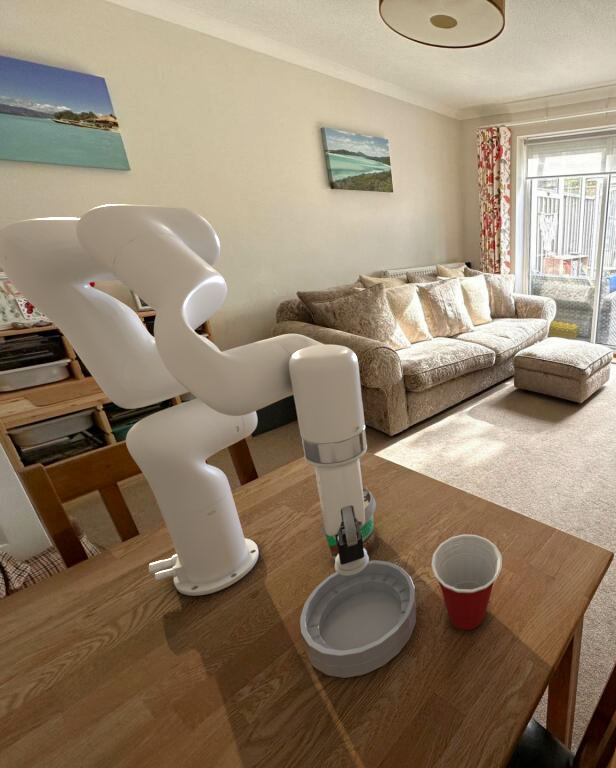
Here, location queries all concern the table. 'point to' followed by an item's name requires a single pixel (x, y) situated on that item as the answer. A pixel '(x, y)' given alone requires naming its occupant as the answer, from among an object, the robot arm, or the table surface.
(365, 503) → the food container
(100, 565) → the table surface
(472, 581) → the plastic cup
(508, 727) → the table surface
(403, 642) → the bowl
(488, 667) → the table surface
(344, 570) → the chess piece
